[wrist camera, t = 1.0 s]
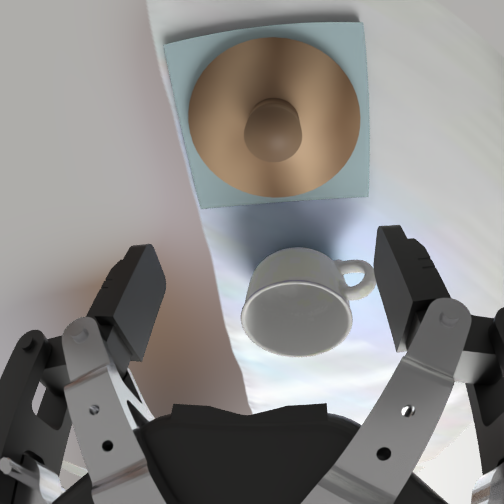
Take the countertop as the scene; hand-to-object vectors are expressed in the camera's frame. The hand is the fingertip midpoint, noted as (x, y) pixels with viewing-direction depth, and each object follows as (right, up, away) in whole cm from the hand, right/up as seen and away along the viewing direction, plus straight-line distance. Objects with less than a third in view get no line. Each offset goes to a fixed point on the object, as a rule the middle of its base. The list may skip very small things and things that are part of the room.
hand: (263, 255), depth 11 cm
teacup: (+6, -1, +25) cm, 25 cm away
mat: (+1, +12, +14) cm, 19 cm away
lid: (+1, +11, +14) cm, 18 cm away
